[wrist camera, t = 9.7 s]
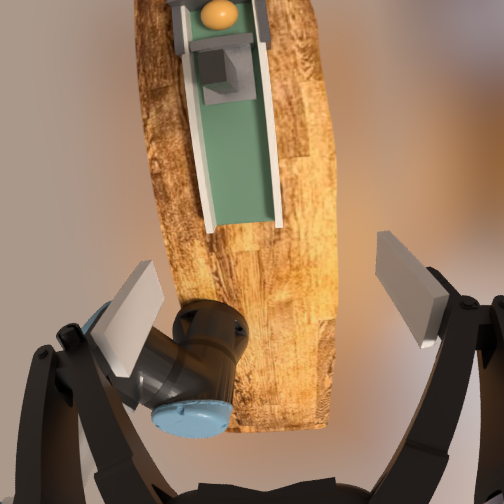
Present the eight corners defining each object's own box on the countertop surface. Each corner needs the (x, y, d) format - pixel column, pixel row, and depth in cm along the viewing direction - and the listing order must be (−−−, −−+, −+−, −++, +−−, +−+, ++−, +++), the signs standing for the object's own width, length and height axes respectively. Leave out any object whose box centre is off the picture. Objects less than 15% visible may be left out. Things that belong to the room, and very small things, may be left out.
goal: (270, 49, 33) (271, 37, 27) (185, 61, 34) (170, 52, 28) (263, -1, 29) (262, -20, 23) (180, 11, 30) (166, -4, 24)
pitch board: (281, 216, 44) (282, 227, 40) (212, 222, 45) (206, 233, 41) (258, -5, 28) (257, -17, 24) (185, 6, 29) (176, -4, 25)
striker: (260, 99, 35) (257, 90, 23) (203, 106, 36) (175, 102, 24) (253, 39, 31) (247, 7, 19) (196, 47, 32) (167, 21, 20)
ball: (233, 27, 31) (232, 38, 29) (199, 22, 30) (194, 32, 28) (242, -1, 27) (242, 7, 25) (207, -7, 26) (203, 0, 24)
